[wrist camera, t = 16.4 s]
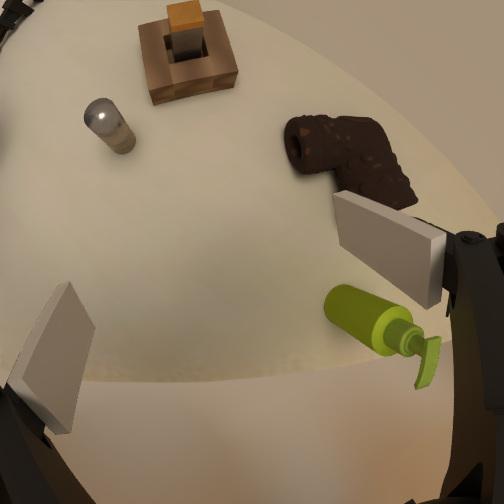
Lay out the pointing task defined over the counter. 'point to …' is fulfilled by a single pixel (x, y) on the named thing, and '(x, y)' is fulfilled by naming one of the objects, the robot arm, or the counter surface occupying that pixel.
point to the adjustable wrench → (12, 15)
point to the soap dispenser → (383, 328)
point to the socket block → (191, 71)
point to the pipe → (350, 156)
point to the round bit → (109, 125)
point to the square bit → (185, 30)
